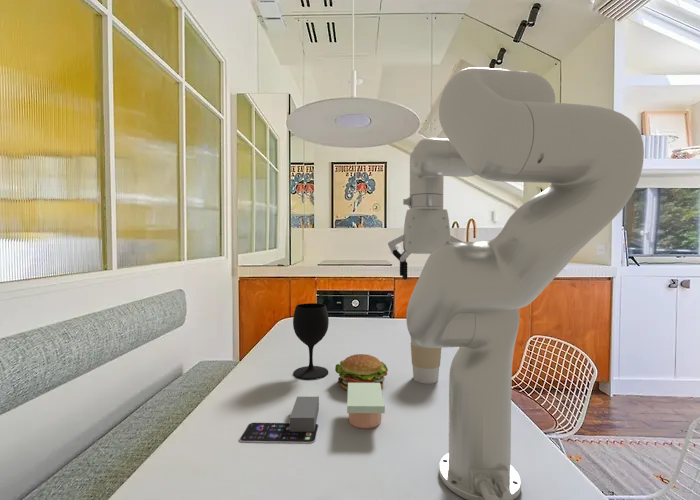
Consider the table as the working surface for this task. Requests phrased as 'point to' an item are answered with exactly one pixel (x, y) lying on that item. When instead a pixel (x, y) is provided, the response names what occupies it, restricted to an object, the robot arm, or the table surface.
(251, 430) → the smartphone
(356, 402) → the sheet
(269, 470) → the table surface
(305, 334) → the wine glass
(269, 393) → the table surface
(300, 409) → the tall grey rectangular block
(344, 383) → the food
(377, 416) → the ramekin
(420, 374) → the coffee cup
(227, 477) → the table surface
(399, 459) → the table surface
